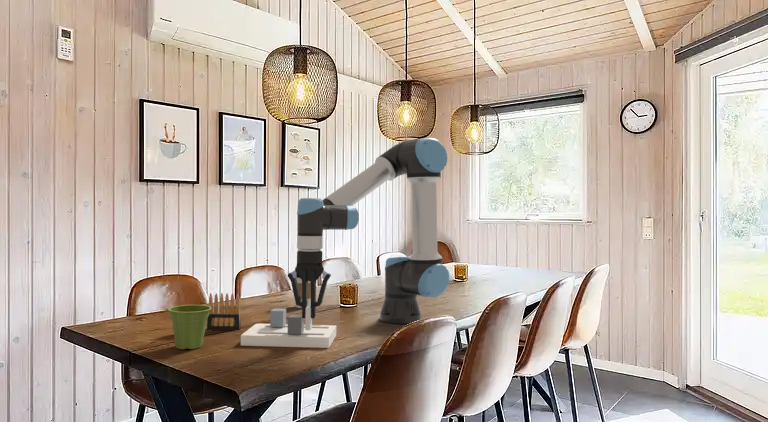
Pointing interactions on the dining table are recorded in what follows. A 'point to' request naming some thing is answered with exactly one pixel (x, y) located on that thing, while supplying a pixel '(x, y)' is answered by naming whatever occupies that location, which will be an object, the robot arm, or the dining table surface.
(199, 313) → the plant pot
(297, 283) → the coffee cup
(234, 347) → the dining table surface
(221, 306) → the ammunition clip
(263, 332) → the switch panel
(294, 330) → the tab front
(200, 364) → the dining table surface
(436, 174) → the robot arm
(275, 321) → the tab back
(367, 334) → the dining table surface
